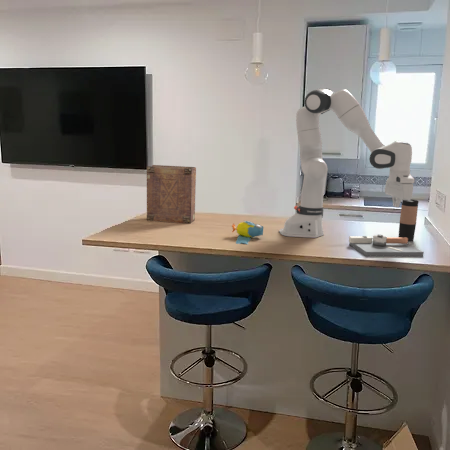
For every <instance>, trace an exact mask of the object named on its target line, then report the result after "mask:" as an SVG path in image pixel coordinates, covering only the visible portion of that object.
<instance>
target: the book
mask: <svg viewBox="0 0 450 450" xmlns="http://www.w3.org/2000/svg"><path fill="white" fill-rule="evenodd" d="M196 178H197V167H194V166H184V165H183V166H181V165H178V166H177V165H161V164H152V165H148V166H146V220H147V222H164V223H165V222H166V223H177V224H191V223H192V224H193V222H194V221H195V219H196V218H195V217H196V216H195V215H196V182H197V179H196Z"/></svg>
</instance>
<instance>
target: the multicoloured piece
mask: <svg viewBox="0 0 450 450" xmlns="http://www.w3.org/2000/svg"><path fill="white" fill-rule="evenodd" d="M372 241H373V243H372V244H373V245H376V246H386V243H407V244H409V243H408V238H406V237H399V236H398V237H397V236H396V237H395V236H394V237H392V236H391V237H388V236H384V235H383V234H377V235H375V234H374V235H373V236H372Z"/></svg>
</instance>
